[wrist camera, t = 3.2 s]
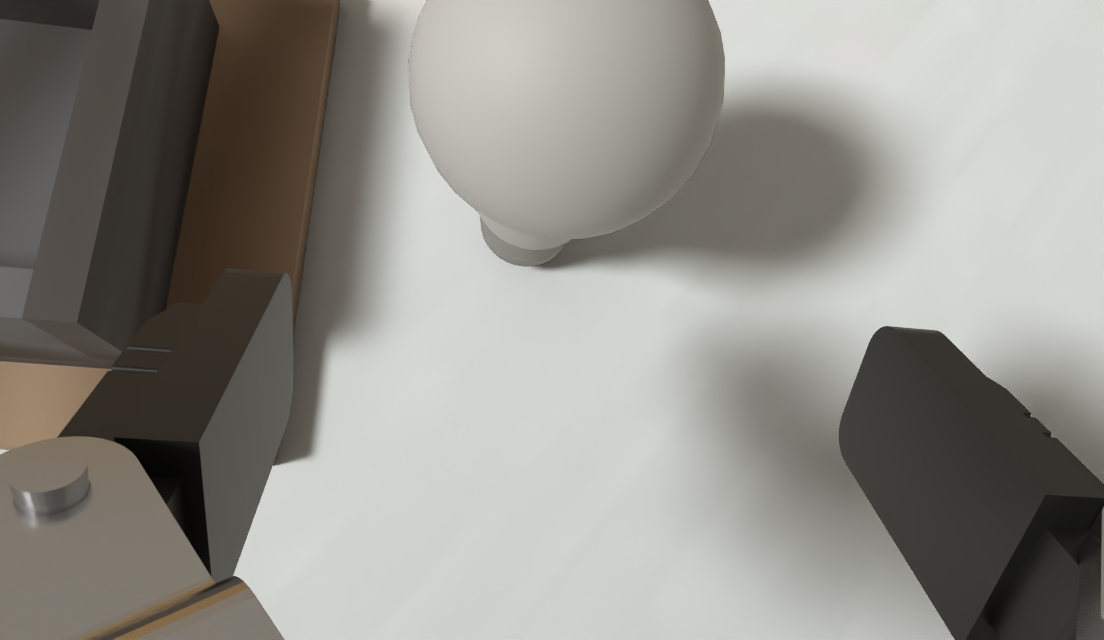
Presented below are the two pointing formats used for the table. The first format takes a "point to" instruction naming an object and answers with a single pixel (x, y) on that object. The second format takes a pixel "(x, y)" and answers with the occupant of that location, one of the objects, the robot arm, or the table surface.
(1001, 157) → the table surface
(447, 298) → the table surface
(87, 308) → the holder
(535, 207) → the lightbulb
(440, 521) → the table surface
